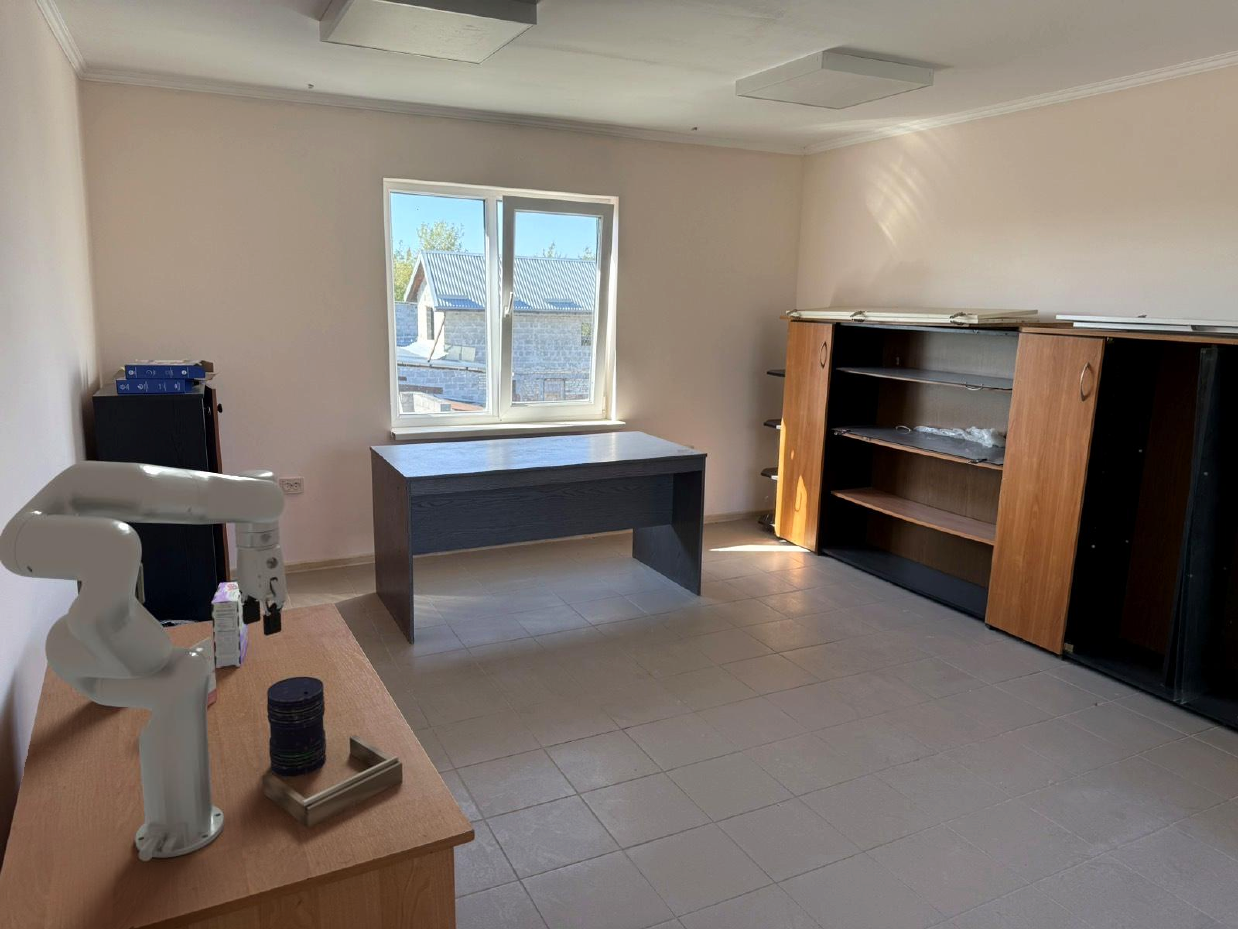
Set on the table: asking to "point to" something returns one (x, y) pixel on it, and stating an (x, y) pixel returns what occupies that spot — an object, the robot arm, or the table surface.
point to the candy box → (228, 626)
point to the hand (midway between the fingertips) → (262, 627)
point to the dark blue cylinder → (296, 726)
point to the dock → (338, 786)
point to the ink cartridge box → (209, 654)
